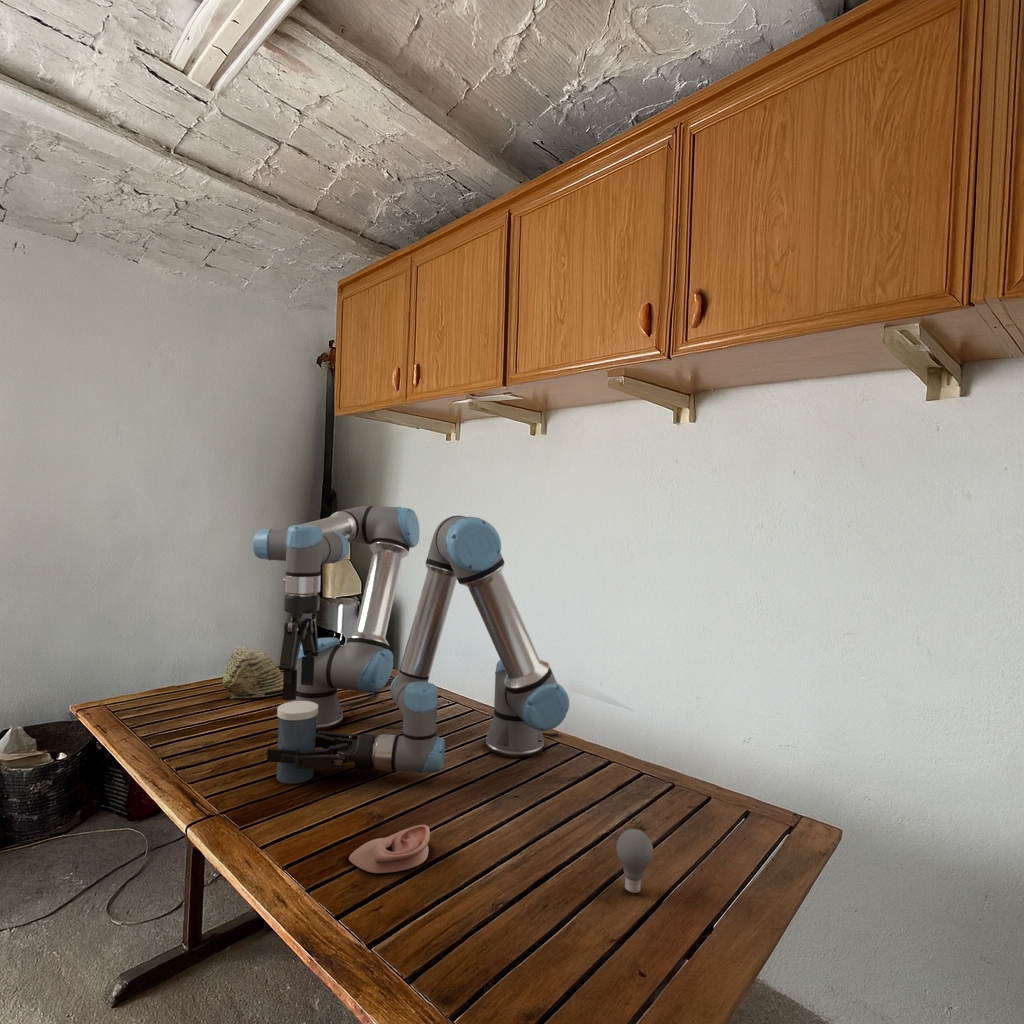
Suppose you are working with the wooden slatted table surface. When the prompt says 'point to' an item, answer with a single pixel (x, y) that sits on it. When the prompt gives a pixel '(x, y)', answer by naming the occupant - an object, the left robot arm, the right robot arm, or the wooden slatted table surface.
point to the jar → (295, 747)
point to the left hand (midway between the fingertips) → (298, 691)
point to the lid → (297, 710)
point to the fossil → (252, 674)
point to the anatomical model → (393, 851)
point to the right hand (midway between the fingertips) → (275, 747)
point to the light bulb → (634, 857)
